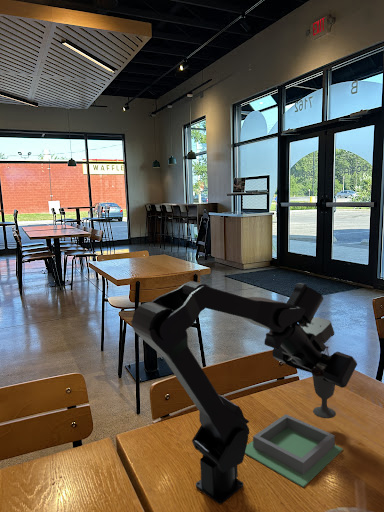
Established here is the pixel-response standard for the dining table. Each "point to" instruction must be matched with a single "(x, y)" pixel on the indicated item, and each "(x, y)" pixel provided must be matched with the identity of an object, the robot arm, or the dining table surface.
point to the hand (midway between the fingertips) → (328, 376)
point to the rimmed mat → (293, 449)
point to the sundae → (322, 391)
